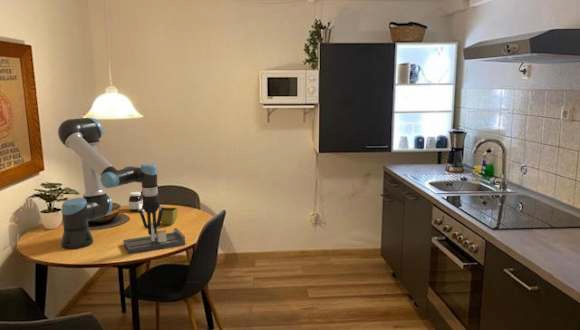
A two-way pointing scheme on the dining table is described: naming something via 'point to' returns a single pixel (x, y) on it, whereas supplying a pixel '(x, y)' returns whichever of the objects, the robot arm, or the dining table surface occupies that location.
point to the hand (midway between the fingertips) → (152, 240)
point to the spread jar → (135, 201)
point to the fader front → (161, 234)
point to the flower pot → (169, 216)
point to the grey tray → (154, 242)
